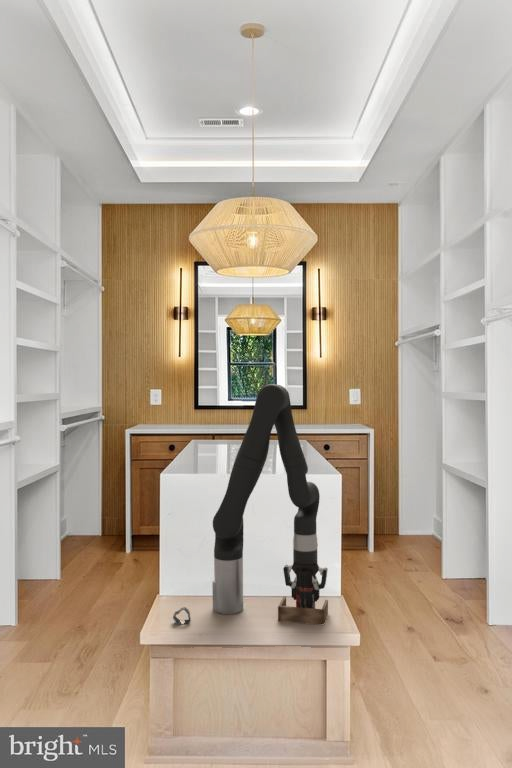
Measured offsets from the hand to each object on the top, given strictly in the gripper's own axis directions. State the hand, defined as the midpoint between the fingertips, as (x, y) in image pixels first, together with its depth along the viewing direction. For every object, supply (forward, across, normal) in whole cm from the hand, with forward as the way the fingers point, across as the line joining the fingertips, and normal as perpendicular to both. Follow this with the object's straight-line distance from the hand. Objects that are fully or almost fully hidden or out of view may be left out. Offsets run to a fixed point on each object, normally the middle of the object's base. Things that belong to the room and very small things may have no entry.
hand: (305, 599), depth 207 cm
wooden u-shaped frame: (+5, -1, -1) cm, 5 cm away
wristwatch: (+5, -36, -14) cm, 39 cm away
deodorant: (+5, 0, 0) cm, 5 cm away
